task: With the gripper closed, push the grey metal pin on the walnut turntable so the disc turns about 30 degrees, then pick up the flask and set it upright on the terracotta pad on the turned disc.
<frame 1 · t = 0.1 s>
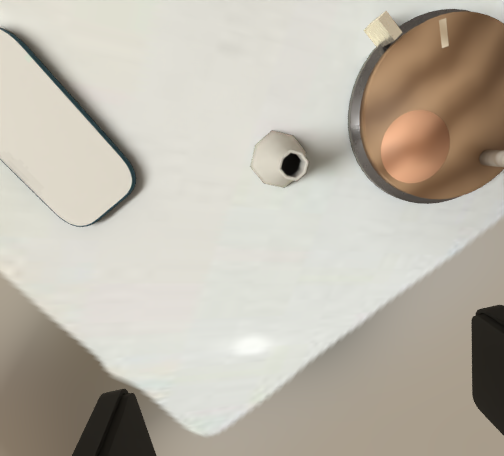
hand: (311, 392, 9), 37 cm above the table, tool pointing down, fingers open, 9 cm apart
flask: (277, 159, 44), on the table
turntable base: (435, 113, 44), on the table
turntable: (460, 110, 40), point 5 cm above the table, hinge at 0.0°
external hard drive: (48, 134, 42), on the table
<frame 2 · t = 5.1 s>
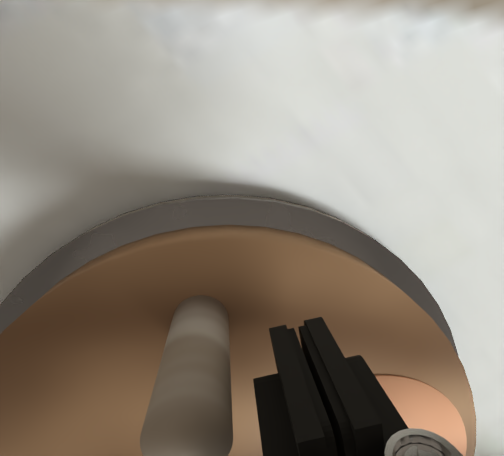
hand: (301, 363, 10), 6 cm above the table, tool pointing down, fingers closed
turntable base: (228, 423, 17), on the table
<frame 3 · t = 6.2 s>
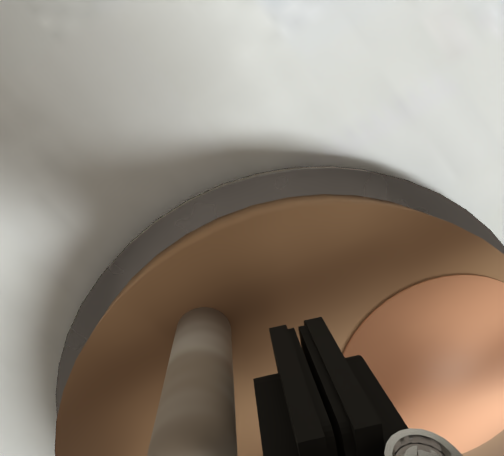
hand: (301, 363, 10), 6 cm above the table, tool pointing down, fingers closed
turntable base: (306, 397, 18), on the table
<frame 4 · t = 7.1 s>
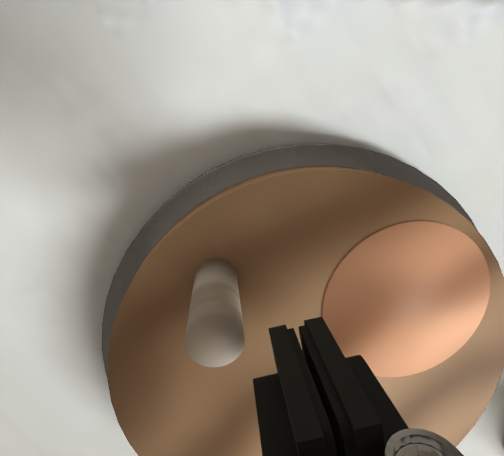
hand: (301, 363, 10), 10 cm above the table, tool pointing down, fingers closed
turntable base: (303, 337, 21), on the table
turntable: (327, 395, 17), point 5 cm above the table, hinge at 38.2°
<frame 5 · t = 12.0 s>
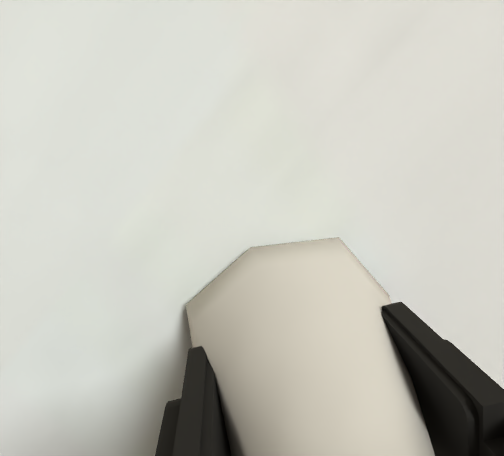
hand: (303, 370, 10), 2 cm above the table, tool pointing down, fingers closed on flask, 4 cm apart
flask: (289, 329, 12), on the table, touching gripper
when the fingers open (7 cm above the table, at t = 17.3 s): flask drops 1 cm, resting on turntable.
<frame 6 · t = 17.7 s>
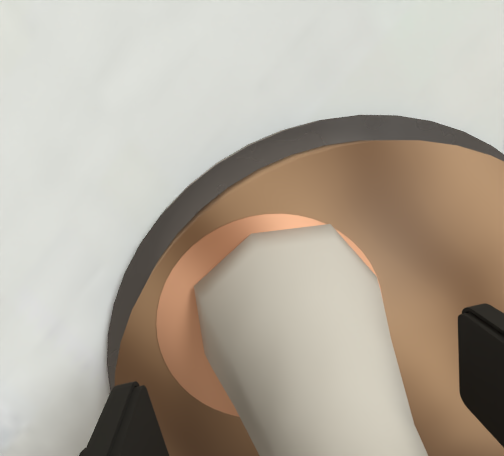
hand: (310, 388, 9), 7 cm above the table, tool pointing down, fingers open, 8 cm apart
flask: (287, 309, 13), point 3 cm above the table, touching turntable
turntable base: (346, 352, 18), on the table
turntable: (390, 427, 13), point 5 cm above the table, hinge at 38.2°, touching flask
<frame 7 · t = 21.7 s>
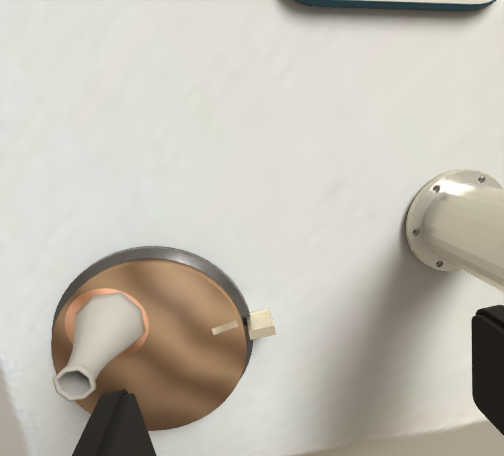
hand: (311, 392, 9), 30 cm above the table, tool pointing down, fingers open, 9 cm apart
flask: (112, 319, 37), point 3 cm above the table, touching turntable
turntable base: (157, 337, 42), on the table
turntable: (149, 361, 37), point 5 cm above the table, hinge at 38.2°, touching flask
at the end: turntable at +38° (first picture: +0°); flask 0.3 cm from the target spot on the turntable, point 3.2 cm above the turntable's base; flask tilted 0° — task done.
